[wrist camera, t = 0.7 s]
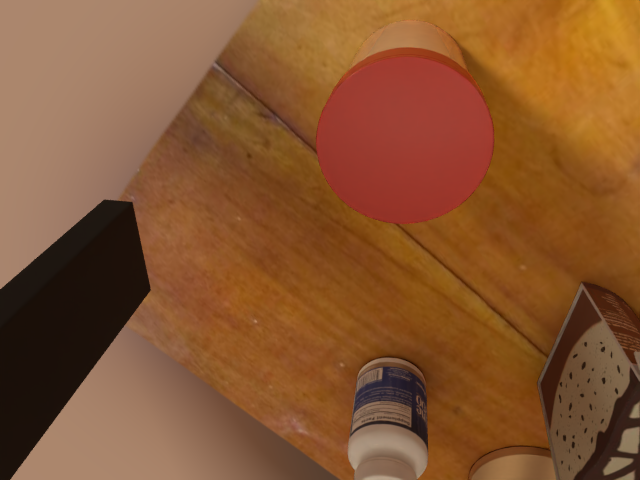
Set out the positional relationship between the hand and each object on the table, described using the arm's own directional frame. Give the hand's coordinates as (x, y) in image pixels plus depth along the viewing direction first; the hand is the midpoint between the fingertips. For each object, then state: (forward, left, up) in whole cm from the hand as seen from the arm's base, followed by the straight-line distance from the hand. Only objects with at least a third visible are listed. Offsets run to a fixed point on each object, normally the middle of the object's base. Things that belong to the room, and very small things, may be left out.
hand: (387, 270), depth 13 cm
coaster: (+13, -33, -19) cm, 40 cm away
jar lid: (0, 0, -9) cm, 9 cm away
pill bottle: (+1, -23, -19) cm, 30 cm away
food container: (+15, -17, -19) cm, 30 cm away
